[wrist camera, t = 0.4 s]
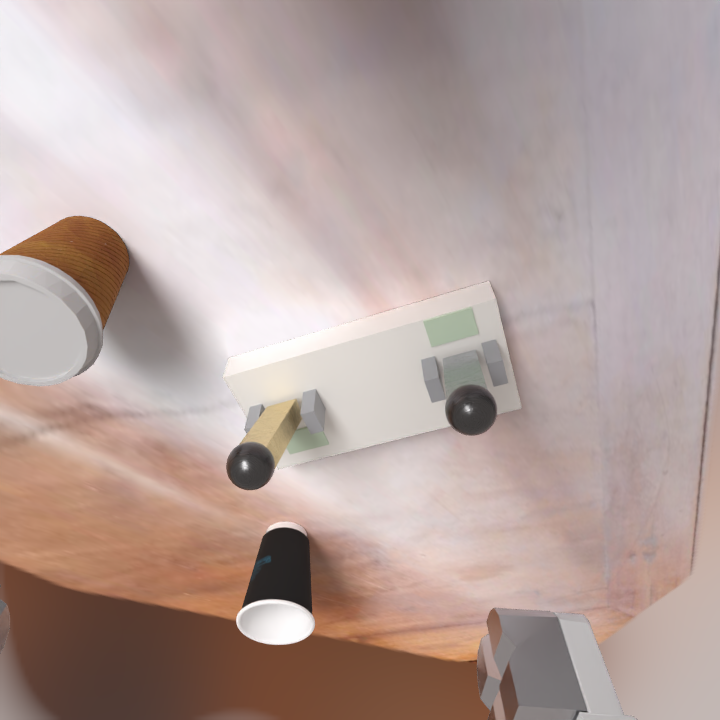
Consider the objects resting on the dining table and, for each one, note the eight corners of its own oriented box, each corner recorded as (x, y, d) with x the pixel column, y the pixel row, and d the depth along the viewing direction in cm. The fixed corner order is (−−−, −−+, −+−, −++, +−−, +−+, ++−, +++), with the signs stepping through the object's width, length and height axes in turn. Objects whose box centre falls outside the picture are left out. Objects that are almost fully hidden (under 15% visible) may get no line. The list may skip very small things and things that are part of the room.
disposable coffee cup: (164, 229, 46) (110, 305, 36) (132, 320, 50) (77, 410, 41) (38, 173, 43) (-56, 239, 33) (18, 275, 48) (-70, 359, 38)
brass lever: (261, 399, 51) (212, 461, 40) (296, 389, 51) (257, 449, 39) (274, 433, 52) (230, 503, 40) (309, 424, 51) (274, 492, 40)
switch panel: (228, 357, 53) (215, 399, 48) (489, 280, 48) (503, 318, 43) (281, 448, 59) (274, 493, 54) (514, 387, 55) (529, 431, 50)
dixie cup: (320, 556, 70) (315, 646, 61) (254, 555, 70) (239, 644, 61) (320, 512, 65) (314, 603, 56) (249, 511, 65) (232, 601, 56)
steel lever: (436, 350, 48) (439, 402, 37) (476, 339, 48) (492, 388, 36) (447, 387, 49) (453, 449, 37) (486, 377, 48) (506, 436, 37)
